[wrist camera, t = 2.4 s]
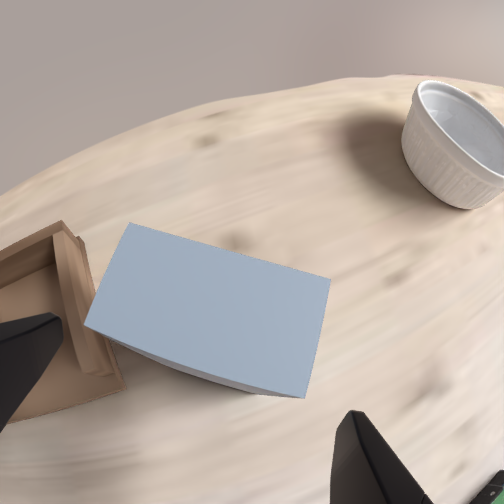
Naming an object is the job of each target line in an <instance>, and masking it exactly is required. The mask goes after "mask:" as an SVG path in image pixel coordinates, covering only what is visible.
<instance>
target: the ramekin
mask: <svg viewBox="0 0 504 504" xmlns="http://www.w3.org/2000/svg"><path fill="white" fill-rule="evenodd" d="M401 142H402V149H403V153H404V156H405V159H406V162H407V164H408V166H409V168H410V169H411V171H412V172H413V174H414V175H415V177H416V178H417V179H418V180H419V181H420V183H421V184H422V185H423V186H424V187H425V188H426V189H427V190H428V191H430V192H431V193H432V194H433V195H434V196H436V197H437V198H439V199H440V200H442V201H443V202H445V203H447V204H449V205H451V206H454V207H457V208H464V209H476V208H479V207H482V206H484V205H485V204H486V203H488V202H489V201H491V200H492V199H493V198H495V197H496V196H497V195H499V194H500V193H501V192H502V191H504V126H503V124H502V123H501V122H500V121H499V120H498V119H497V118H496V117H495V116H494V115H493V114H492V113H491V112H490V111H489V110H488V109H487V108H486V107H485V106H483V105H482V104H481V103H480V102H478V101H477V100H476V99H474V98H473V97H471V96H470V95H468V94H467V93H465V92H463V91H462V90H460V89H458V88H456V87H454V86H452V85H449V84H447V83H443V82H440V81H435V80H425V81H422V82H420V83H419V84H418V86H417V88H416V89H415V91H414V93H413V96H412V105H411V108H410V111H409V113H408V116H407V119H406V122H405V125H404V128H403V131H402V138H401Z"/></svg>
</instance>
